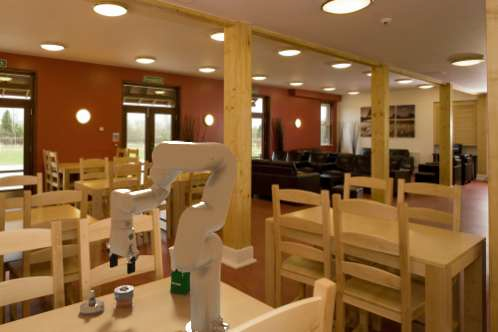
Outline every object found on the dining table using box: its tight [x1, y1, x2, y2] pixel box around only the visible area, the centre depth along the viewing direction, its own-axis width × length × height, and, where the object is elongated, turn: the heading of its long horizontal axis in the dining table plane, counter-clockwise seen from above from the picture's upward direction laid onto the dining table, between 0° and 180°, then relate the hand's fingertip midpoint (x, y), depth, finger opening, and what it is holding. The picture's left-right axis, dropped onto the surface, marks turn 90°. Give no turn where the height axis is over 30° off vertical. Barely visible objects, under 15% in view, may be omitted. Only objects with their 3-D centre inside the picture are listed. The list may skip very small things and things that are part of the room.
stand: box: [115, 285, 133, 309], centre depth 136 cm, size 6×6×7 cm
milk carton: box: [168, 245, 191, 296], centre depth 148 cm, size 9×9×20 cm
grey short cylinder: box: [113, 284, 135, 301], centre depth 136 cm, size 6×6×3 cm
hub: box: [79, 289, 105, 317], centre depth 132 cm, size 8×8×7 cm
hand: (122, 269), depth 135 cm, fingers open, 9 cm apart
